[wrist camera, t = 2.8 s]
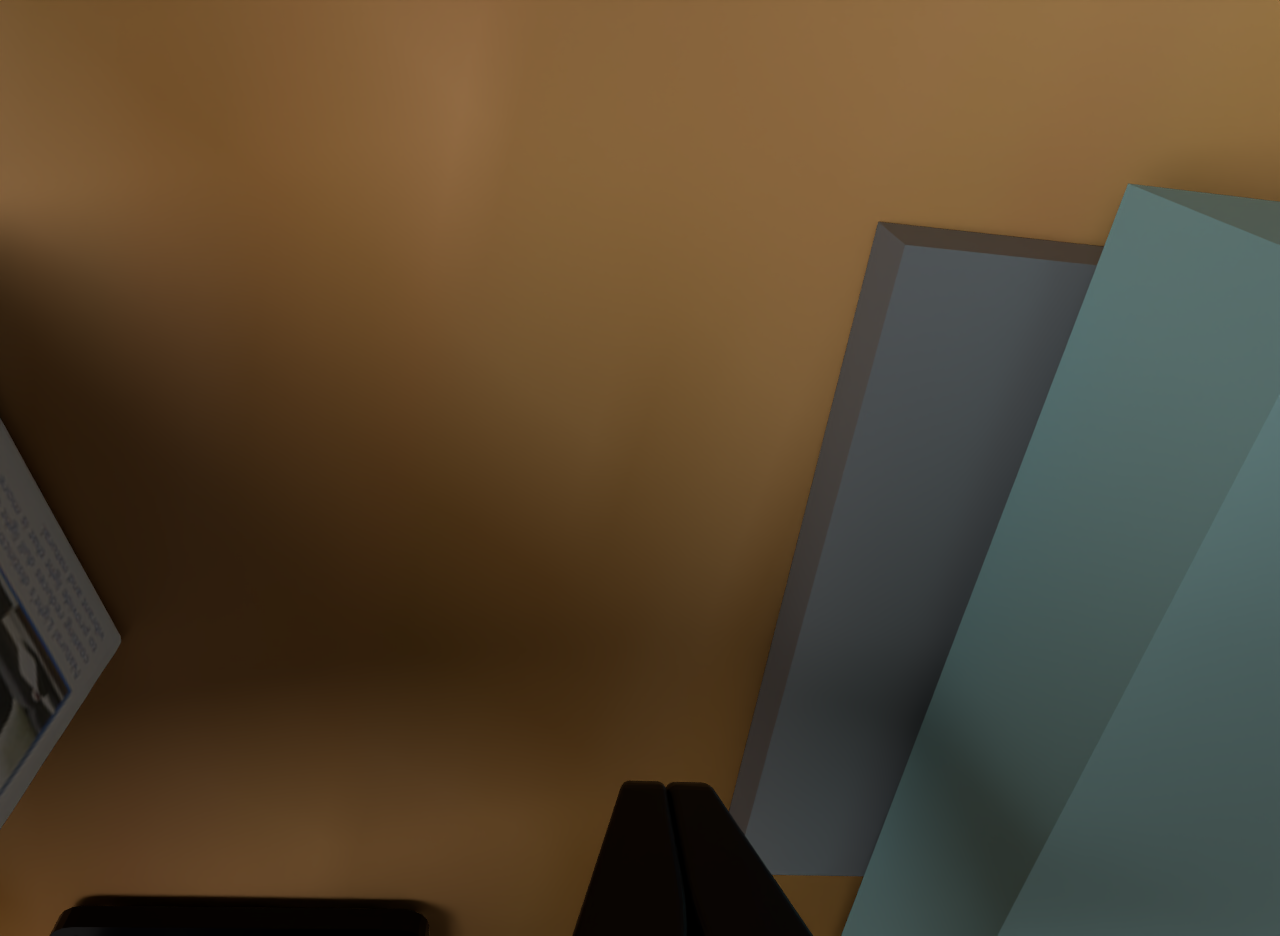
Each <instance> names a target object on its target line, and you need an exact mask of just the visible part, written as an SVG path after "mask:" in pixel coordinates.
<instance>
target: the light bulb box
mask: <svg viewBox="0 0 1280 936" xmlns="http://www.w3.org/2000/svg"><path fill="white" fill-rule="evenodd" d="M120 643H121V636H120V634H119V632H118V631H117V629H116V627H115V625H114V623H113V622H112V620H111V618H110V616H109V614H108V612H107V611H106V609H105V607H104V605H103V603H102V602H101V600H100V598H99V596H98V594H97V593H96V591H95V589H94V587H93V585H92V584H91V582H90V580H89V578H88V576H87V574H86V573H85V571H84V569H83V567H82V565H81V564H80V562H79V560H78V558H77V556H76V555H75V553H74V551H73V549H72V547H71V546H70V544H69V542H68V540H67V538H66V536H65V535H64V533H63V531H62V529H61V527H60V526H59V524H58V522H57V520H56V518H55V517H54V515H53V513H52V511H51V509H50V507H49V506H48V504H47V502H46V500H45V498H44V497H43V495H42V493H41V491H40V489H39V487H38V486H37V484H36V482H35V480H34V478H33V477H32V475H31V473H30V471H29V469H28V467H27V466H26V464H25V462H24V460H23V458H22V457H21V455H20V453H19V451H18V449H17V447H16V446H15V444H14V442H13V440H12V438H11V437H10V435H9V433H8V431H7V429H6V428H5V426H4V424H3V422H2V420H1V419H0V829H1V827H2V826H3V824H4V823H5V821H6V820H7V818H8V817H9V815H10V814H11V812H12V811H13V809H14V808H15V806H16V805H17V803H18V802H19V800H20V799H21V797H22V796H23V794H24V792H25V791H26V789H27V788H28V786H29V785H30V783H31V781H32V780H33V778H34V777H35V775H36V774H37V772H38V770H39V769H40V767H41V766H42V764H43V763H44V761H45V760H46V758H47V757H48V755H49V753H50V752H51V750H52V749H53V747H54V746H55V744H56V743H57V741H58V740H59V738H60V737H61V735H62V734H63V732H64V731H65V729H66V728H67V726H68V725H69V723H70V721H71V720H72V718H73V717H74V715H75V714H76V712H77V711H78V709H79V707H80V706H81V704H82V703H83V701H84V700H85V698H86V697H87V695H88V694H89V692H90V690H91V689H92V687H93V685H94V684H95V682H96V681H97V679H98V678H99V676H100V675H101V673H102V672H103V670H104V669H105V667H106V666H107V664H108V663H109V661H110V660H111V658H112V657H113V655H114V654H115V652H116V651H117V649H118V647H119V645H120Z"/></svg>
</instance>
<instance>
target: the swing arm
mask: <svg viewBox="0 0 1280 936" xmlns="http://www.w3.org/2000/svg"><path fill="white" fill-rule="evenodd" d="M841 936H1280V202H1278V201H1269V200H1261V199H1252V198H1244V197H1236V196H1227V195H1219V194H1211V193H1202V192H1194V191H1186V190H1177V189H1169V188H1161V187H1152V186H1144V185H1136V184H1128V185H1127V188H1126V191H1125V193H1124V196H1123V199H1122V201H1121V204H1120V206H1119V209H1118V212H1117V214H1116V217H1115V220H1114V222H1113V225H1112V227H1111V230H1110V233H1109V235H1108V238H1107V241H1106V243H1105V246H1104V248H1103V251H1102V254H1101V256H1100V259H1099V261H1098V264H1097V267H1096V269H1095V272H1094V275H1093V277H1092V280H1091V282H1090V285H1089V288H1088V290H1087V293H1086V296H1085V298H1084V301H1083V303H1082V306H1081V309H1080V311H1079V314H1078V317H1077V319H1076V322H1075V324H1074V327H1073V330H1072V332H1071V335H1070V337H1069V340H1068V343H1067V345H1066V348H1065V351H1064V353H1063V356H1062V358H1061V361H1060V364H1059V366H1058V369H1057V372H1056V374H1055V377H1054V379H1053V382H1052V385H1051V387H1050V390H1049V393H1048V395H1047V398H1046V400H1045V403H1044V406H1043V408H1042V411H1041V413H1040V416H1039V419H1038V421H1037V424H1036V427H1035V429H1034V432H1033V434H1032V437H1031V440H1030V442H1029V445H1028V448H1027V450H1026V453H1025V455H1024V458H1023V461H1022V463H1021V466H1020V469H1019V471H1018V474H1017V476H1016V479H1015V482H1014V484H1013V487H1012V489H1011V492H1010V495H1009V497H1008V500H1007V503H1006V505H1005V508H1004V510H1003V513H1002V516H1001V518H1000V521H999V524H998V526H997V529H996V531H995V534H994V537H993V539H992V542H991V545H990V547H989V550H988V552H987V555H986V558H985V560H984V563H983V566H982V568H981V571H980V573H979V576H978V579H977V581H976V584H975V586H974V589H973V592H972V594H971V597H970V600H969V602H968V605H967V607H966V610H965V613H964V615H963V618H962V621H961V623H960V626H959V628H958V631H957V634H956V636H955V639H954V642H953V644H952V647H951V649H950V652H949V655H948V657H947V660H946V662H945V665H944V668H943V670H942V673H941V676H940V678H939V681H938V683H937V686H936V689H935V691H934V694H933V697H932V699H931V702H930V704H929V707H928V710H927V712H926V715H925V718H924V720H923V723H922V725H921V728H920V731H919V733H918V736H917V738H916V741H915V744H914V746H913V749H912V752H911V754H910V757H909V759H908V762H907V765H906V767H905V770H904V773H903V775H902V778H901V780H900V783H899V786H898V788H897V791H896V794H895V796H894V799H893V801H892V804H891V807H890V809H889V812H888V814H887V817H886V820H885V822H884V825H883V828H882V830H881V833H880V835H879V838H878V841H877V843H876V846H875V849H874V851H873V854H872V856H871V859H870V862H869V864H868V867H867V870H866V872H865V875H864V877H863V880H862V883H861V885H860V888H859V890H858V893H857V896H856V898H855V901H854V904H853V906H852V909H851V911H850V914H849V917H848V919H847V922H846V925H845V927H844V930H843V932H842V935H841Z"/></svg>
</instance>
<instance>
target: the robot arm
mask: <svg viewBox="0 0 1280 936" xmlns="http://www.w3.org/2000/svg"><path fill="white" fill-rule="evenodd" d="M50 936H429V923H428V920H427V919H426V918H425V917H424V916H423V915H422V914H420V913H417V912H415V911H413V910H405V909H344V908H248V907H153V906H78V907H72V908H70V909H67V910H65V911H64V912H63V913H62V914H61V915H60V917H59V919H58V920H57V922H56V924H55V926H54V928H53V930H52V932H51V934H50ZM572 936H813V935H812V933H811V932H810V930H809V929H808V927H807V926H806V924H805V923H804V922H803V920H802V919H801V917H800V916H799V914H798V913H797V911H796V910H795V908H794V907H793V905H792V904H791V902H790V901H789V899H788V898H787V897H786V895H785V894H784V892H783V891H782V889H781V888H780V886H779V885H778V883H777V882H776V880H775V879H774V877H773V876H772V874H771V873H770V872H769V870H768V869H767V867H766V866H765V864H764V863H763V861H762V860H761V858H760V857H759V855H758V854H757V852H756V851H755V850H754V848H753V847H752V845H751V844H750V842H749V841H748V839H747V838H746V836H745V835H744V833H743V832H742V830H741V829H740V827H739V826H738V825H737V823H736V822H735V820H734V819H733V817H732V816H731V814H730V813H729V811H728V810H727V808H726V807H725V805H724V804H723V802H722V801H721V800H720V798H719V797H718V795H717V794H716V792H715V791H714V789H713V788H712V787H711V786H709V785H708V784H706V783H697V782H672V783H669V784H668V785H667V786H666V787H665V785H664V784H663V783H661V782H658V781H626V782H624V783H623V785H622V786H621V789H620V791H619V794H618V797H617V800H616V804H615V807H614V810H613V813H612V816H611V819H610V822H609V825H608V828H607V831H606V834H605V837H604V840H603V843H602V846H601V849H600V853H599V856H598V859H597V862H596V865H595V868H594V871H593V874H592V877H591V880H590V883H589V886H588V889H587V892H586V895H585V898H584V902H583V905H582V908H581V911H580V914H579V917H578V920H577V923H576V926H575V929H574V932H573V935H572Z"/></svg>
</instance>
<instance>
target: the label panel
mask: <svg viewBox="0 0 1280 936" xmlns="http://www.w3.org/2000/svg"><path fill="white" fill-rule="evenodd" d="M1103 248H1104V247H1103V246H1093V245H1084V244H1075V243H1066V242H1057V241H1048V240H1039V239H1030V238H1021V237H1012V236H1003V235H993V234H984V233H975V232H966V231H957V230H948V229H939V228H930V227H921V226H912V225H902V224H893V223H884V222H878V225H877V229H876V233H875V237H874V241H873V245H872V249H871V253H870V257H869V261H868V265H867V269H866V273H865V276H864V280H863V284H862V288H861V292H860V296H859V300H858V304H857V308H856V312H855V316H854V320H853V324H852V328H851V332H850V336H849V340H848V344H847V348H846V352H845V356H844V359H843V363H842V367H841V371H840V375H839V379H838V383H837V387H836V391H835V395H834V399H833V403H832V407H831V411H830V415H829V419H828V423H827V427H826V431H825V435H824V438H823V442H822V446H821V450H820V454H819V458H818V462H817V466H816V470H815V474H814V478H813V482H812V486H811V490H810V494H809V498H808V502H807V506H806V510H805V514H804V518H803V521H802V525H801V529H800V533H799V537H798V541H797V545H796V549H795V553H794V557H793V561H792V565H791V569H790V573H789V577H788V581H787V585H786V589H785V593H784V597H783V601H782V604H781V608H780V612H779V616H778V620H777V624H776V628H775V632H774V636H773V640H772V644H771V648H770V652H769V656H768V660H767V664H766V668H765V672H764V676H763V680H762V684H761V687H760V691H759V695H758V699H757V703H756V707H755V711H754V715H753V719H752V723H751V727H750V731H749V735H748V739H747V743H746V747H745V751H744V755H743V759H742V763H741V767H740V770H739V774H738V778H737V782H736V786H735V790H734V794H733V798H732V802H731V806H730V810H729V813H730V814H731V816H732V817H733V819H734V820H735V822H736V823H737V825H738V826H739V827H740V829H741V830H742V832H743V833H744V835H745V836H746V838H747V839H748V841H749V842H750V844H751V845H752V847H753V848H754V850H755V851H756V852H757V854H758V855H759V857H760V858H761V860H762V861H763V863H764V864H765V866H766V867H767V869H768V870H769V872H770V873H771V874H772V875H821V876H864V875H865V872H866V870H867V867H868V864H869V862H870V859H871V856H872V854H873V851H874V849H875V846H876V843H877V841H878V838H879V835H880V833H881V830H882V828H883V825H884V822H885V820H886V817H887V814H888V812H889V809H890V807H891V804H892V801H893V799H894V796H895V794H896V791H897V788H898V786H899V783H900V780H901V778H902V775H903V773H904V770H905V767H906V765H907V762H908V759H909V757H910V754H911V752H912V749H913V746H914V744H915V741H916V738H917V736H918V733H919V731H920V728H921V725H922V723H923V720H924V718H925V715H926V712H927V710H928V707H929V704H930V702H931V699H932V697H933V694H934V691H935V689H936V686H937V683H938V681H939V678H940V676H941V673H942V670H943V668H944V665H945V662H946V660H947V657H948V655H949V652H950V649H951V647H952V644H953V642H954V639H955V636H956V634H957V631H958V628H959V626H960V623H961V621H962V618H963V615H964V613H965V610H966V607H967V605H968V602H969V600H970V597H971V594H972V592H973V589H974V586H975V584H976V581H977V579H978V576H979V573H980V571H981V568H982V566H983V563H984V560H985V558H986V555H987V552H988V550H989V547H990V545H991V542H992V539H993V537H994V534H995V531H996V529H997V526H998V524H999V521H1000V518H1001V516H1002V513H1003V510H1004V508H1005V505H1006V503H1007V500H1008V497H1009V495H1010V492H1011V489H1012V487H1013V484H1014V482H1015V479H1016V476H1017V474H1018V471H1019V469H1020V466H1021V463H1022V461H1023V458H1024V455H1025V453H1026V450H1027V448H1028V445H1029V442H1030V440H1031V437H1032V434H1033V432H1034V429H1035V427H1036V424H1037V421H1038V419H1039V416H1040V413H1041V411H1042V408H1043V406H1044V403H1045V400H1046V398H1047V395H1048V393H1049V390H1050V387H1051V385H1052V382H1053V379H1054V377H1055V374H1056V372H1057V369H1058V366H1059V364H1060V361H1061V358H1062V356H1063V353H1064V351H1065V348H1066V345H1067V343H1068V340H1069V337H1070V335H1071V332H1072V330H1073V327H1074V324H1075V322H1076V319H1077V317H1078V314H1079V311H1080V309H1081V306H1082V303H1083V301H1084V298H1085V296H1086V293H1087V290H1088V288H1089V285H1090V282H1091V280H1092V277H1093V275H1094V272H1095V269H1096V267H1097V264H1098V261H1099V259H1100V256H1101V254H1102V251H1103Z"/></svg>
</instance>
